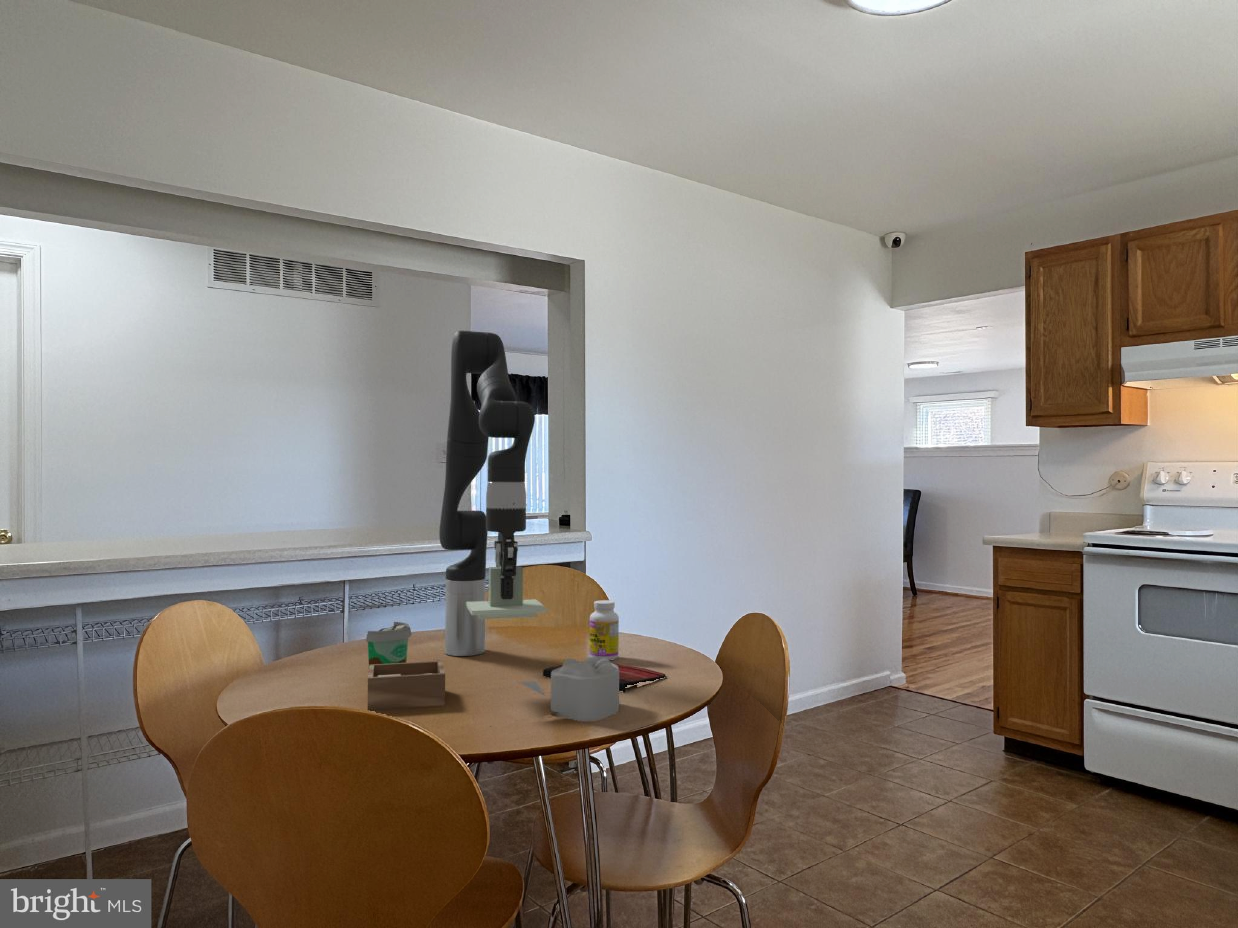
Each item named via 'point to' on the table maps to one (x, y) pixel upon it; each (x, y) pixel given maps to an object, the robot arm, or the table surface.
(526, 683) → the mat
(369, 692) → the box
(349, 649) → the table surface
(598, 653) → the supplement bottle
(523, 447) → the robot arm
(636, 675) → the binder
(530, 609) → the lid
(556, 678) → the grey lumpy filled container
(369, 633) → the food container
